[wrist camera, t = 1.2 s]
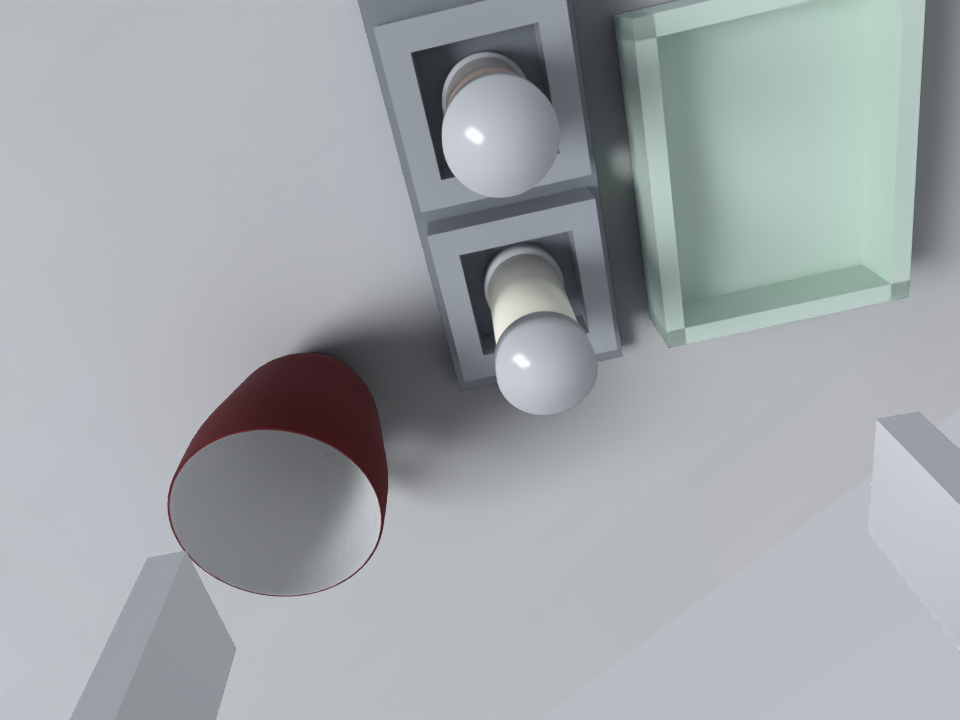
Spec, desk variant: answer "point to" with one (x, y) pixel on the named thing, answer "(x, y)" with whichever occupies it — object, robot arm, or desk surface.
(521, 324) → the fuse
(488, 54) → the fuse
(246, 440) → the mug
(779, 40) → the tray
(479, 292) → the block
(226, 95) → the desk surface
